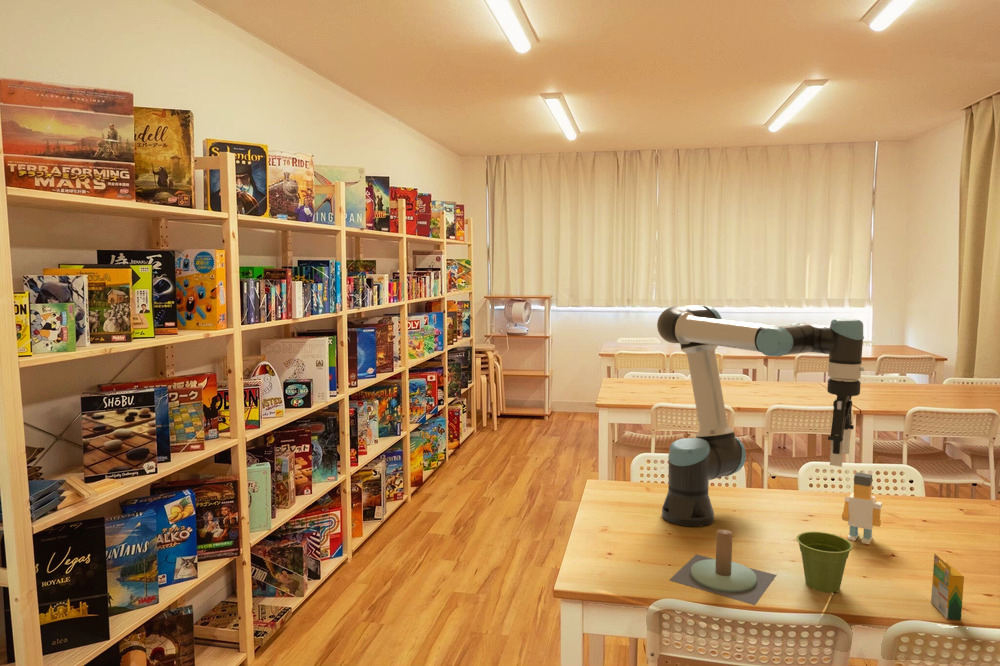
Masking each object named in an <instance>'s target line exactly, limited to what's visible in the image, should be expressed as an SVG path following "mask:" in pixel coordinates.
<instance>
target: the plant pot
mask: <svg viewBox="0 0 1000 666" xmlns="http://www.w3.org/2000/svg"><path fill="white" fill-rule="evenodd" d="M795 539H796V542H797V543H798V545H799V550H800V553H801V559H802V565H803V573H804V581H805V584H806V586H807V587H809V588H810V589H813V590H814V591H818V592H822V593H831V594H833V593H838V592H840V590H841V589H840V588H841V585H842V582H843V576H844V573H845V569H846V568H845V567H846V564H847V560H848V558H849V554H850V552H851V551H852V550H853V549H854V547H853V546H854V545H853V543H852V542H851V541H850V540H848V539H847V538H844V537H842V536H841V535H837V534H834V533H828V532H824V531H805V532H801V533H798V534H797V535H796V538H795Z"/></svg>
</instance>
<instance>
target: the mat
mask: <svg viewBox="0 0 1000 666" xmlns="http://www.w3.org/2000/svg"><path fill="white" fill-rule="evenodd" d="M708 559H714V558H713V557H709V556H705V555H700V554H698V553H697V554H695V555H694V556H693V557H692V558H690V560H688V561H687V563H685V565H683V566H682V567H681V568H680V569H679V570H677V572H676V573H675V574H674V575H673V576H672V577H671V578H670V579H669V581H670V582H673V583H677V584H681V585H685V586H688V587H691V588H695V589H698V590H701V591H705V592H708V593H712V594H715V595H718V596H721V597H725V598H728V599H733V600H735V601H739V602H742V603H746V604H749V605H754V606H756V604H757V603H758V602H759V600H760V598H761V597H762V596H763V595H764V594H765V592H766V590H767V589H768V587H769V586H770V585H771V584H772V582H773V580H774V579H775V578H776V577H777V574H776V573H775V574H774V573H771V572H766V571H762V570H759V569H755V568H751V567H748V568H749V569H751V570H752V571H753V572H754V573H755V574H756V577H757V581H756V586H755V587H754V588H752V589H751V590H748V591H744V592H722V591H717V590H713V589H710V588H707V587H704V586H702V585H700V584H699V583H697V582H696V581H695V580H694V579H693V578H692V576H691V567H692V565H693V564H694V563H696V562H698V561H702V560H708Z"/></svg>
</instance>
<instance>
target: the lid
mask: <svg viewBox="0 0 1000 666" xmlns="http://www.w3.org/2000/svg"><path fill="white" fill-rule="evenodd" d="M715 536H716V538H715V539H716V540H715V544H716V545H715V558H713V559H708V560H702V561H698V562H696V563H694V564H693V565H692V567H691V576H692V578H693V579H694V580H695V581H696V582H697V583H699V584H700V585H702V586H704V587H707V588H710V589H713V590H717V591H722V592H744V591H748V590H751V589H752V588H754V587H755V586H756V581H757V577H756V574H755V573H754V572H753V571H752V570H751V569H749V568H750V567H747V566H746V565H744V564H741V563H738V562H735V561H733V560H732V559H733V532H732V531H730V530H729V529H718V530H716V535H715Z"/></svg>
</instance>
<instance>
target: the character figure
mask: <svg viewBox="0 0 1000 666" xmlns="http://www.w3.org/2000/svg"><path fill="white" fill-rule="evenodd" d="M853 476H854V477H853V478H854V479H853V492H851V493H850V495H849V496H845V497H844V505H843V512H842V514H841V519H842V521H844V522H847V525H848V526H849V534H848V535H847V540H848V541H853V542H856V540H857V538H858V537H859V528H861V529H863V534H862V535H863V536H862V539H861V543H862V544H867V545H869V544H871V542H872V540H873V535H872V534H873V528H874V527H879V528H880V527H881V525H882V519H881V513H882V511H881V509H882V507H883V502H882V501H876V496H875V495H872V489H873V474H870V473H864V472H859V471H858V472H855V474H854V475H853Z"/></svg>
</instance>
